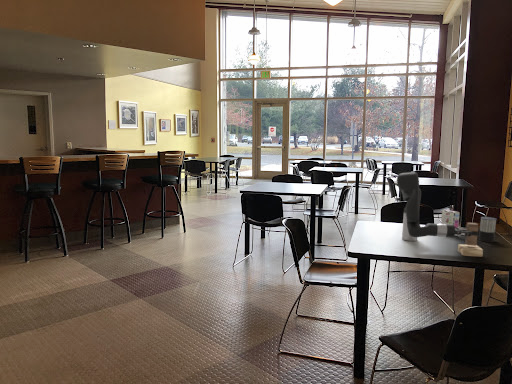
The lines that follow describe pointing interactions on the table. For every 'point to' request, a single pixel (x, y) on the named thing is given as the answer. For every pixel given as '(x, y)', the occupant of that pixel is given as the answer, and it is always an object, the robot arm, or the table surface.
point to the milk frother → (487, 229)
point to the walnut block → (471, 239)
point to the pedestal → (470, 250)
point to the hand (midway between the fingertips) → (476, 232)
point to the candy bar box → (450, 218)
